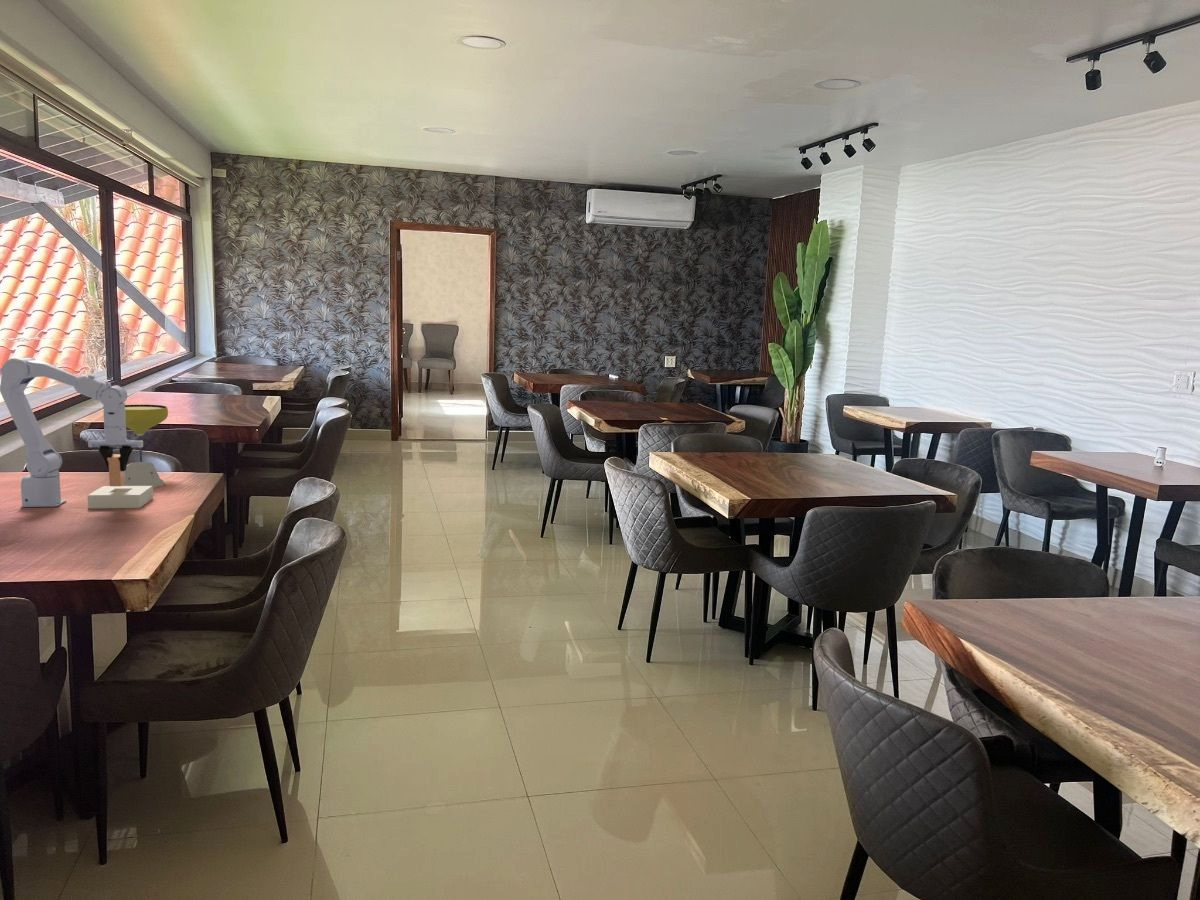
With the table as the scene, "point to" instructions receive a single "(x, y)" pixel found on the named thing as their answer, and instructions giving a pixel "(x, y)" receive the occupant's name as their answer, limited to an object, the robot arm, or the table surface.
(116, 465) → the t-shaped block
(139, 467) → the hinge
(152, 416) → the cocktail glass
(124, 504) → the well block
